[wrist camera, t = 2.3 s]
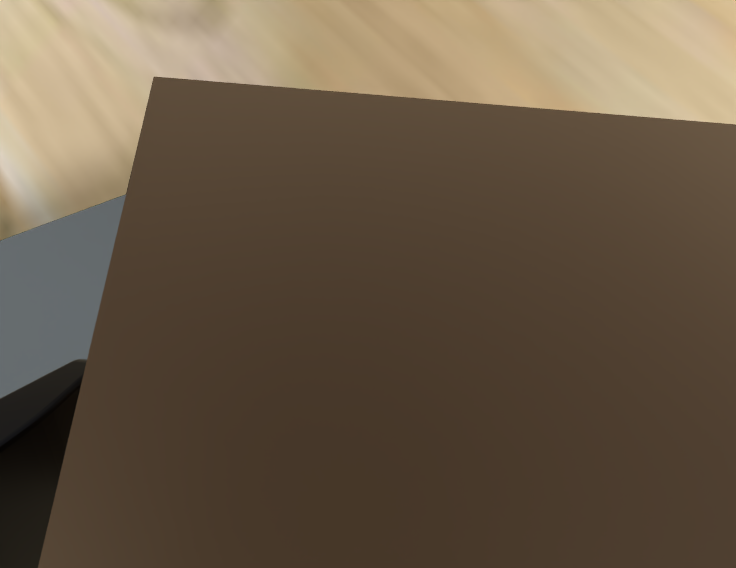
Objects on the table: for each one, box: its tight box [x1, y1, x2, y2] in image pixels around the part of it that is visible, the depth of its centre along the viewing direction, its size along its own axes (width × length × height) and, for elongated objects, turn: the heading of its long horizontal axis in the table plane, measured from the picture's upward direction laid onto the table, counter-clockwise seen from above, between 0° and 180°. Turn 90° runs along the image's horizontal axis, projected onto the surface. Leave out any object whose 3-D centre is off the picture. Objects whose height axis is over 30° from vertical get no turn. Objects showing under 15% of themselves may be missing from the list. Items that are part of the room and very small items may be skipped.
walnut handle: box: [38, 77, 736, 568], centre depth 9 cm, size 4×4×13 cm
